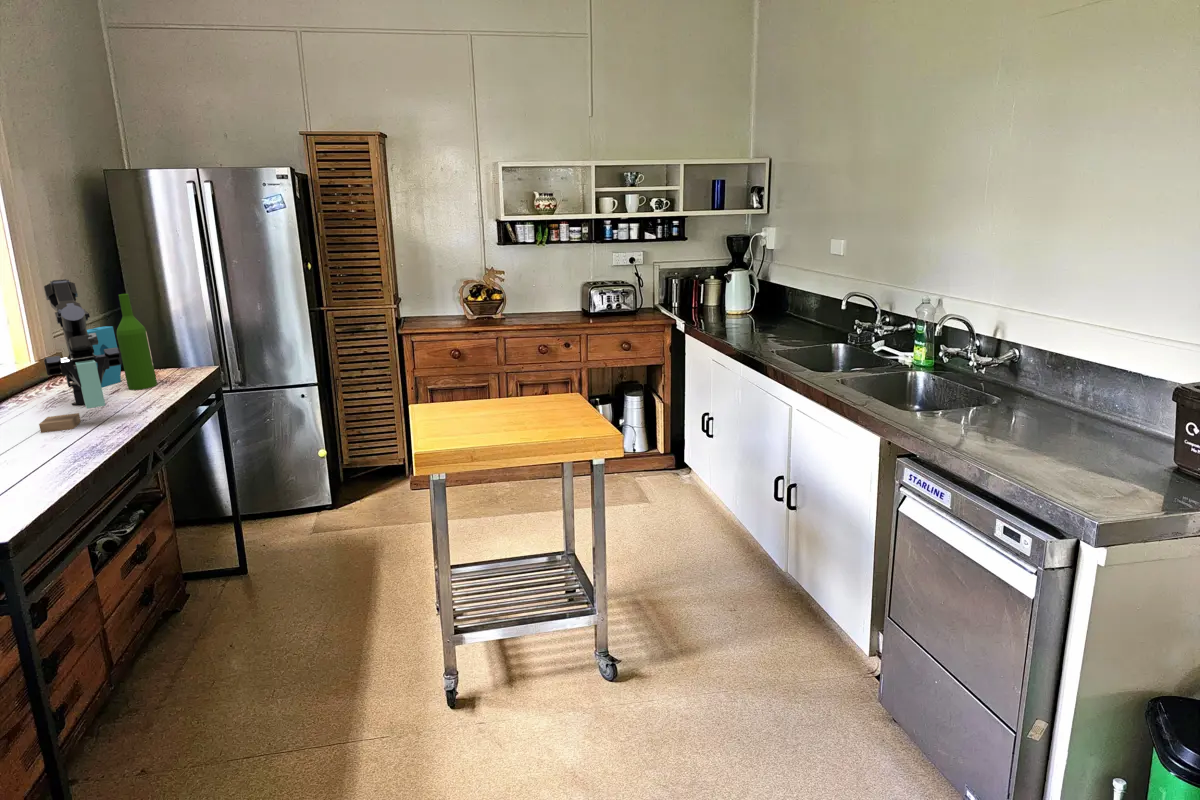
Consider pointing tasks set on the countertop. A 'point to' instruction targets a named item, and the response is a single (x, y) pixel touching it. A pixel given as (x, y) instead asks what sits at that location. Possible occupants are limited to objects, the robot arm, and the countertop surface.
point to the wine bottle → (135, 349)
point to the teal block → (90, 384)
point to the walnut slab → (60, 423)
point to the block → (104, 342)
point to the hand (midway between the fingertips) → (90, 384)
